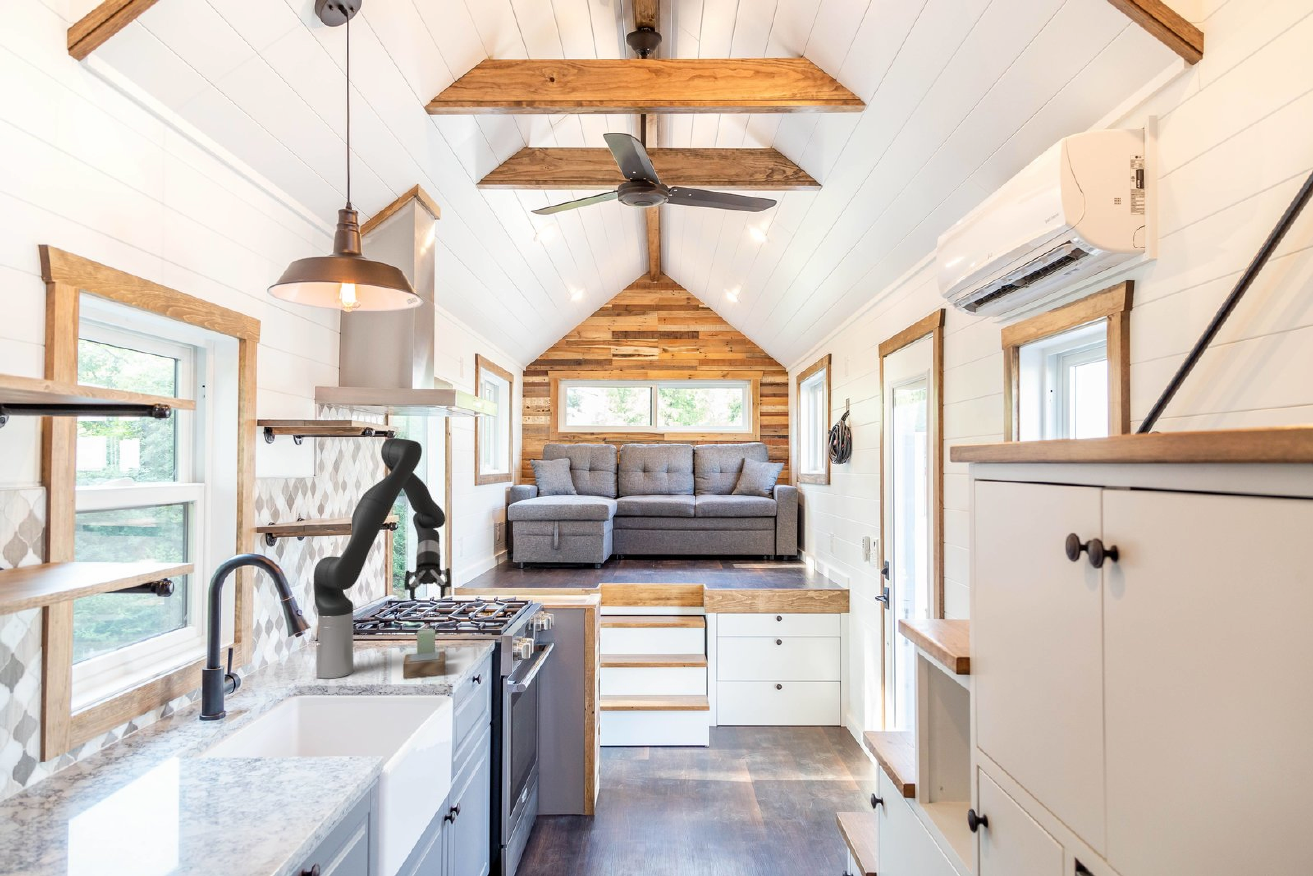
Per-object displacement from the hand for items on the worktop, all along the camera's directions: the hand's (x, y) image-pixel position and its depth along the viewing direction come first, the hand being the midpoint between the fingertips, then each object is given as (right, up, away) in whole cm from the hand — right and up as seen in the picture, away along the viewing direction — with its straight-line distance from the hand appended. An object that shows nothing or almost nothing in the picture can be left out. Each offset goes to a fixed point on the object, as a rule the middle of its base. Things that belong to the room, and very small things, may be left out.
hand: (427, 598), depth 226 cm
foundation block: (+6, -16, -22) cm, 28 cm away
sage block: (+3, -17, -11) cm, 20 cm away
